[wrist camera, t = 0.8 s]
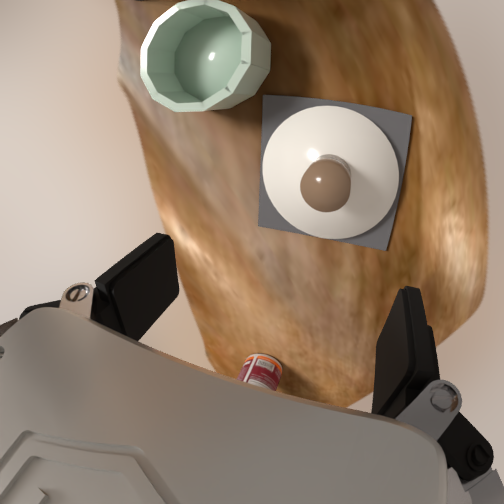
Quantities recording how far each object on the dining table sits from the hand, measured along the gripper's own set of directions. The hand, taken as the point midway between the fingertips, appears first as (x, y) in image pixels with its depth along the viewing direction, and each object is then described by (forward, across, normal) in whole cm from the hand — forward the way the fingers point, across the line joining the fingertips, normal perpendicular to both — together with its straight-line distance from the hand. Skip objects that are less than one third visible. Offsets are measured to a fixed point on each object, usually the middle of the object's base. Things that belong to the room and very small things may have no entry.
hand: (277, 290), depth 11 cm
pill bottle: (+19, +4, +30) cm, 36 cm away
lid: (+18, 0, 0) cm, 19 cm away
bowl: (+19, +12, -11) cm, 25 cm away
